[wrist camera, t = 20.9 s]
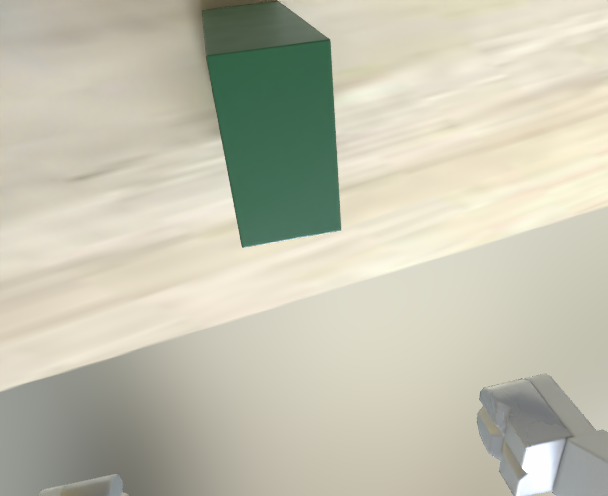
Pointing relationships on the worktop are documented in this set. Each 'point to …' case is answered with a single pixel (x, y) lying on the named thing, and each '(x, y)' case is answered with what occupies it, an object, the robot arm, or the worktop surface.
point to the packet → (275, 120)
